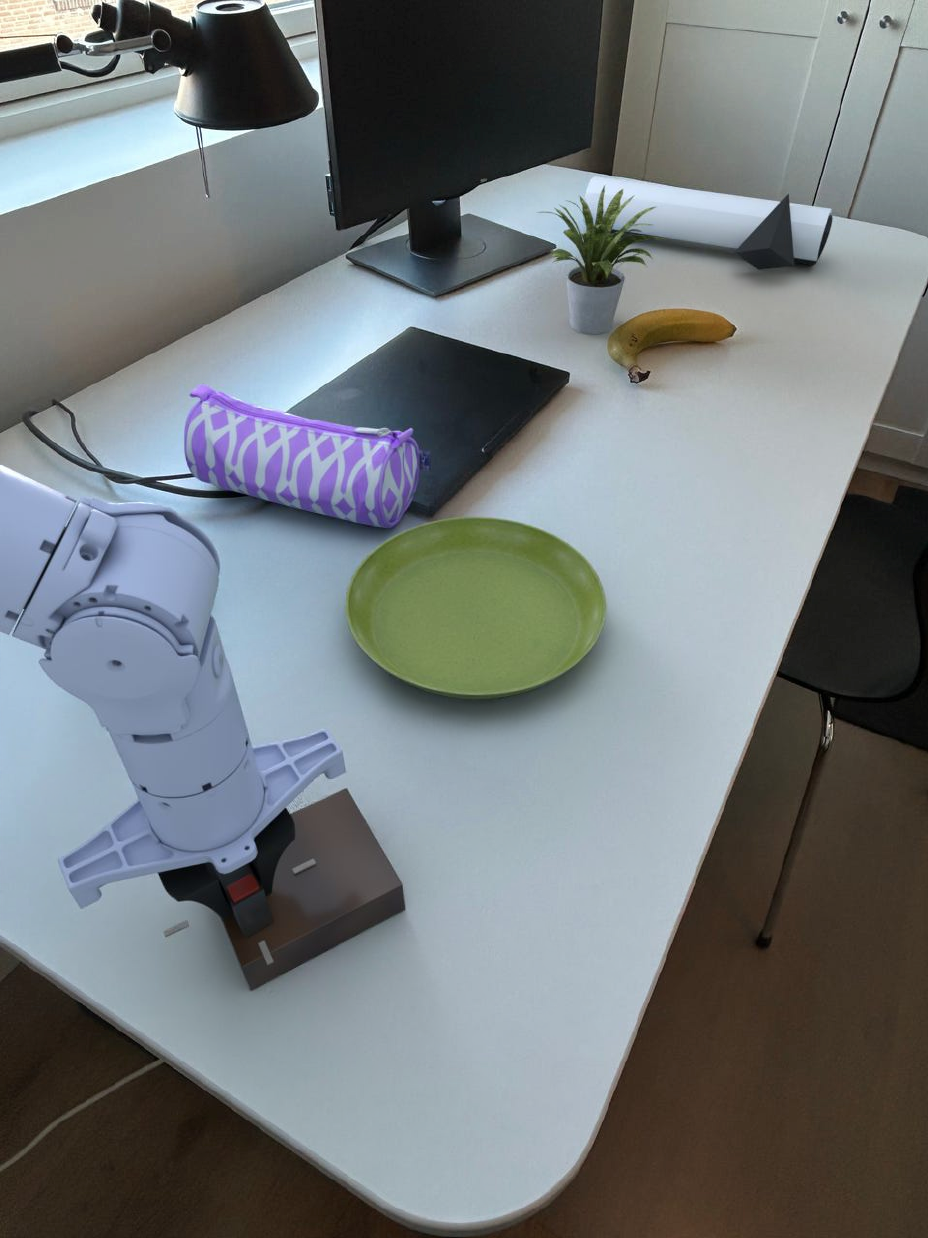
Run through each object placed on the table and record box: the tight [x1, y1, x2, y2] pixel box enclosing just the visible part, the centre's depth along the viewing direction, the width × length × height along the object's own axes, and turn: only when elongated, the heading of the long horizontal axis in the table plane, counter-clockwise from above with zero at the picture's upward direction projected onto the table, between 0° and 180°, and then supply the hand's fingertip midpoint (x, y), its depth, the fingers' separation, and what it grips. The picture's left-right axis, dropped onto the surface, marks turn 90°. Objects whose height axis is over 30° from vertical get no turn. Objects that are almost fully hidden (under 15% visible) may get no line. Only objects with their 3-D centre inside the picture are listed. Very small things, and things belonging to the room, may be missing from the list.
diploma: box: [582, 175, 834, 271], centre depth 124 cm, size 35×9×14 cm
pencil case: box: [183, 383, 432, 529], centre depth 81 cm, size 22×9×10 cm, turn 71°
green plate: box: [344, 516, 607, 700], centre depth 71 cm, size 21×21×3 cm
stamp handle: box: [210, 862, 274, 938], centre depth 50 cm, size 5×2×4 cm, turn 34°
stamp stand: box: [162, 787, 406, 992], centre depth 53 cm, size 13×9×3 cm
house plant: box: [537, 186, 666, 335], centre depth 105 cm, size 14×14×16 cm
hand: (240, 893), depth 51 cm, fingers closed on stamp handle, 2 cm apart
